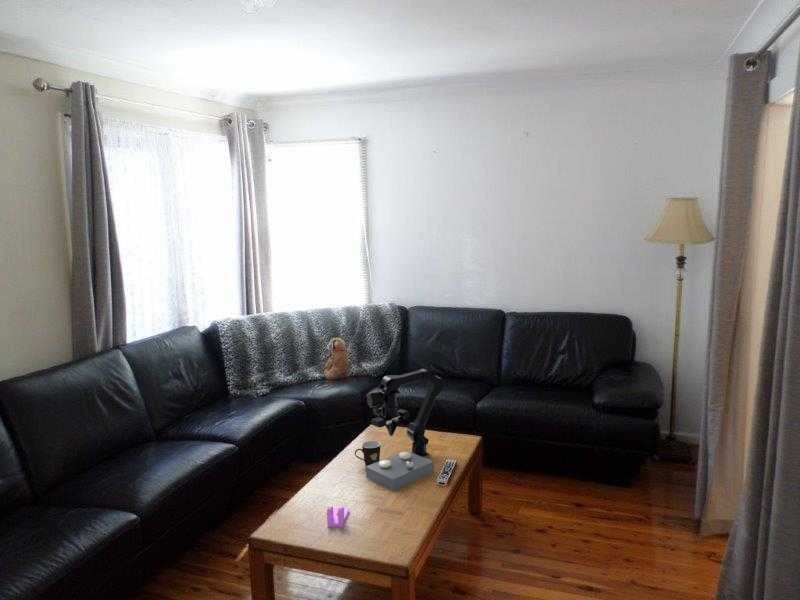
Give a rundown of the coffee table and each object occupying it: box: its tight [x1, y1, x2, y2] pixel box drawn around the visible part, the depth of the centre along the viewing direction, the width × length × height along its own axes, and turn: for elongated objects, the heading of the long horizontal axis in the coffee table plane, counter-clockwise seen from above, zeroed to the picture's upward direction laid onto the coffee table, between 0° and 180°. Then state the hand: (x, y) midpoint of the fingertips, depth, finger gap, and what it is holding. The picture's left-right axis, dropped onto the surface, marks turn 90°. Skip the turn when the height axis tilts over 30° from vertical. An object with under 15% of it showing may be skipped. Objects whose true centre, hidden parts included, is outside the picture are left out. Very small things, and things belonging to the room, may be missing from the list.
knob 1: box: [379, 459, 391, 469], centre depth 257 cm, size 5×5×4 cm
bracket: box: [326, 505, 350, 528], centre depth 224 cm, size 13×6×7 cm, turn 171°
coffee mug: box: [354, 440, 382, 467], centre depth 270 cm, size 12×9×10 cm
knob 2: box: [399, 451, 411, 460], centre depth 265 cm, size 5×5×4 cm
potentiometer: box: [406, 458, 413, 470], centre depth 253 cm, size 3×3×5 cm
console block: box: [365, 449, 434, 492], centre depth 259 cm, size 24×18×5 cm
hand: (391, 435), depth 271 cm, fingers closed
